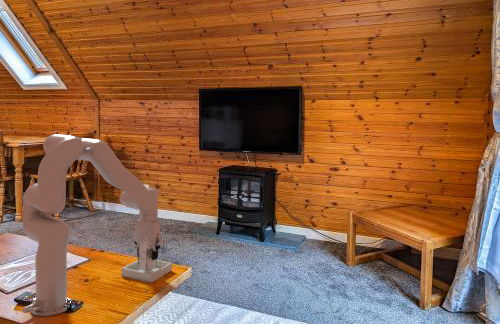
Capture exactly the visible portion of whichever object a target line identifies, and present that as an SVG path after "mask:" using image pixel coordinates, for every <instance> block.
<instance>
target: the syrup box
mask: <svg viewBox="0 0 500 324" xmlns="http://www.w3.org/2000/svg"><path fill="white" fill-rule="evenodd" d="M143 240H144V241H143V244H140V243H139V247H138V257H137V260H138V268H139V269H142V270H144V271H148V270H151V269H155V268H156V264H157V260H158V258H157V259H155V260H152V251H154V250H153V248H152V246H150V245H148V238H145V237H144V239H143ZM155 247H156V246H155Z"/></svg>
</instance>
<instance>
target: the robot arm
mask: <svg viewBox="0 0 500 324" xmlns="http://www.w3.org/2000/svg"><path fill="white" fill-rule="evenodd" d="M42 148H43V150H44V153H45V155H44V157H43V158H42V159H41V160H40V163H39V166H38V171H37V183H33V184H31V185H30V186H28V188H27V189H26V191H25V192H24V194H23V198H22V229H23V233H24V235H25V237H27V238H28V239H30V240H31V241H34V242H36V243H37V244H38V245H37V246H38V247H37V249H36V253H35V258H34V259H35V260H34V261H35V263H34V264H35V271H34V273H35V274H34V275H35V297H34V298H33V299H32V302H31V303H30V304H29V305H26V306H24V307H22V313H23V314H27V313H29V312H30V313H31V314H33V315H34V316H37V317H51V316H52V317H53V316H55V315H56V316H57V315H59V314H62V313H64V312H66V311H68V310H67V307H63V306H64V305H65V304H66V303H67V299H68V300H71V298H68V294H67V293H68V288H67V287H68V286H67V285H68V283H67V281H68V279H67V278H68V275H67V274H68V273H67V272H68V271H67V270H68V266H67V265H68V264H67V263H68V262H67V261H68V259H67V254H68V252H67V251H68V245H69V241H70V240H69V239H70V228H69V226H68V225H67V223H66V222H65V221H63V220H62V219H60V218H58V217H55V216H52V215H58V214H60V213H61V212H63V210H64V209H65V207H66V201H67V200H66V195H67V194H66V193H67V190H66V189H67V188H66V187H67V173H68V170H69V169H70V167H71V165H72V164H73V163H74V162H75V161H86V162H90V163H91V164H92V165H93V167H94V168H95V169H96V171H97V172H98V173H99V175H101V177H102V178H103V180H104V181H106V183H108V184H110V185H111V186H113V187H115V188H117V189H119V190H120V191H122V192H121V193H120V195H119V201H120V204H121V205H123V207H126V208H128V209H129V208H131V209H134V210H137V211H139V212H138V213H137V217H139V218H138V219H137V222H136V224H135V229H134V230H135V231H134V235H133V236H131V239H132V241H133V243H134V245H135V247H136V257H137V258H138V247H139V243H140V244H143V241H144V240H143V239H144V237H145V238H148V245H150V246H152V248H153V250H154V251H152V260H155V259H157V260H158V258H159V250H161V248H162V247H163V246H164V245H165V241H164V240H163V238H161V229H160V221H159V220H158V217H159V215H158V211H159V209H158V208H159V190H158V189H157V188H156V187H146V185H145V184H144V183H143V182H142V181H141V180H140V179H139V178H137V176H135V175H134V174H133V173H131V172H130V171H129V170H128V169H127V168H126V167H125V166H124V164H123V163H122V162H121V161H120V159H119V158H118V157H117V156H116V154H115V152H114V151H113V150H112V148H111V146H109V145H108V144H107V142H106V141H104V140H102V139H94V138H84V137H78V136H74V135H69V134H67V135H66V134H58V133H57V134H56V133H55V134H51V135H49V136H47V137H46V139H45V140H44V141H43V147H42ZM155 246H156V247H155ZM71 301H72V300H71ZM71 301H70V303H71Z"/></svg>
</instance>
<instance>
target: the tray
mask: <svg viewBox="0 0 500 324" xmlns="http://www.w3.org/2000/svg"><path fill="white" fill-rule="evenodd" d="M171 270H172V271H173V262H169V261H165V260H161V259H160V260H159V259H157V264H156V268H155V269H151V270H148V271H144V270H142V269H139V268H138V259H137V260H136V261H133V262H131V263H129V264H127V265H124V266H123V267H121V277H123V278H129V279H132V280H136V281H141V282H144V283H149V284H153V283H154V282H156V281H157V280H159V279H161V278H162V277H164V276H166V275H167V274H169V273H171V272H172V271H171ZM170 271H171V272H170ZM168 272H169V273H168ZM166 273H167V274H166ZM165 274H166V275H165ZM163 275H164V276H163ZM161 276H162V277H161ZM160 277H161V278H160ZM158 278H159V279H158ZM155 280H156V281H155Z"/></svg>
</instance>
